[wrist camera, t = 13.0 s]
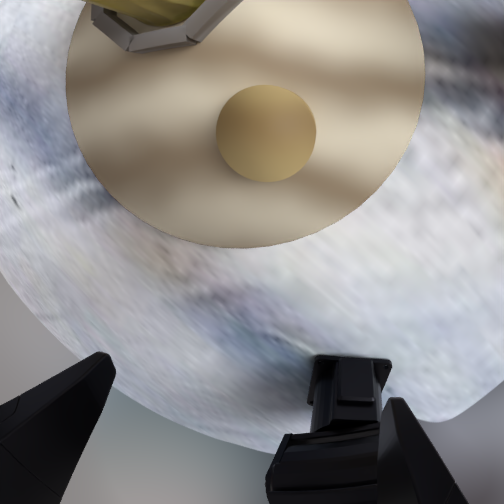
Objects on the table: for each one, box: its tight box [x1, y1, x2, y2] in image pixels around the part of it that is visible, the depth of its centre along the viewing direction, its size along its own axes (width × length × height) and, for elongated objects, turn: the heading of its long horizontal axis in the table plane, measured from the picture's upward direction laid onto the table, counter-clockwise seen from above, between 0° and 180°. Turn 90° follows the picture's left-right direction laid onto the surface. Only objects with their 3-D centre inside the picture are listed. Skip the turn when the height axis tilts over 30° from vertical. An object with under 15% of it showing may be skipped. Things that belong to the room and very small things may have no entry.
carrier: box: [66, 0, 425, 248], centre depth 15 cm, size 23×23×3 cm
